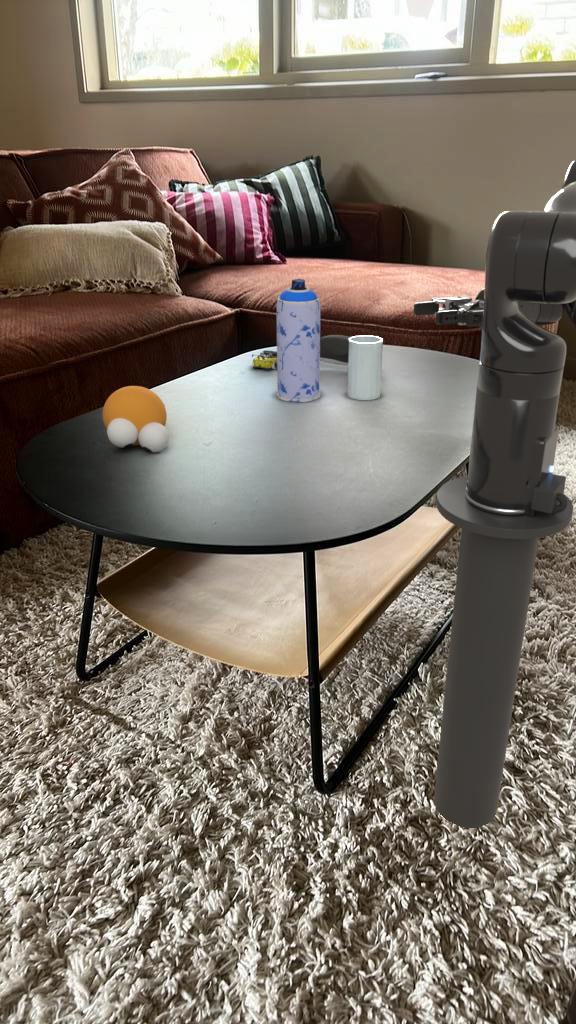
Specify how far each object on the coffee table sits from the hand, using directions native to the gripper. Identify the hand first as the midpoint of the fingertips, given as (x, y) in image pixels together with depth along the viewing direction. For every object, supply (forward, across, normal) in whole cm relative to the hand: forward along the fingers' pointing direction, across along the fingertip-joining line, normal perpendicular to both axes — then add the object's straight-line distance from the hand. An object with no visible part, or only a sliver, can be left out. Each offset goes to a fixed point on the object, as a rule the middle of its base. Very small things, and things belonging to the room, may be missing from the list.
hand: (425, 313), depth 133 cm
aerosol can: (+22, -4, +14) cm, 26 cm away
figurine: (+8, -18, +14) cm, 24 cm away
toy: (+52, +10, +14) cm, 55 cm away
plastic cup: (+11, 0, +14) cm, 18 cm away
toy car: (+21, -26, +14) cm, 36 cm away
